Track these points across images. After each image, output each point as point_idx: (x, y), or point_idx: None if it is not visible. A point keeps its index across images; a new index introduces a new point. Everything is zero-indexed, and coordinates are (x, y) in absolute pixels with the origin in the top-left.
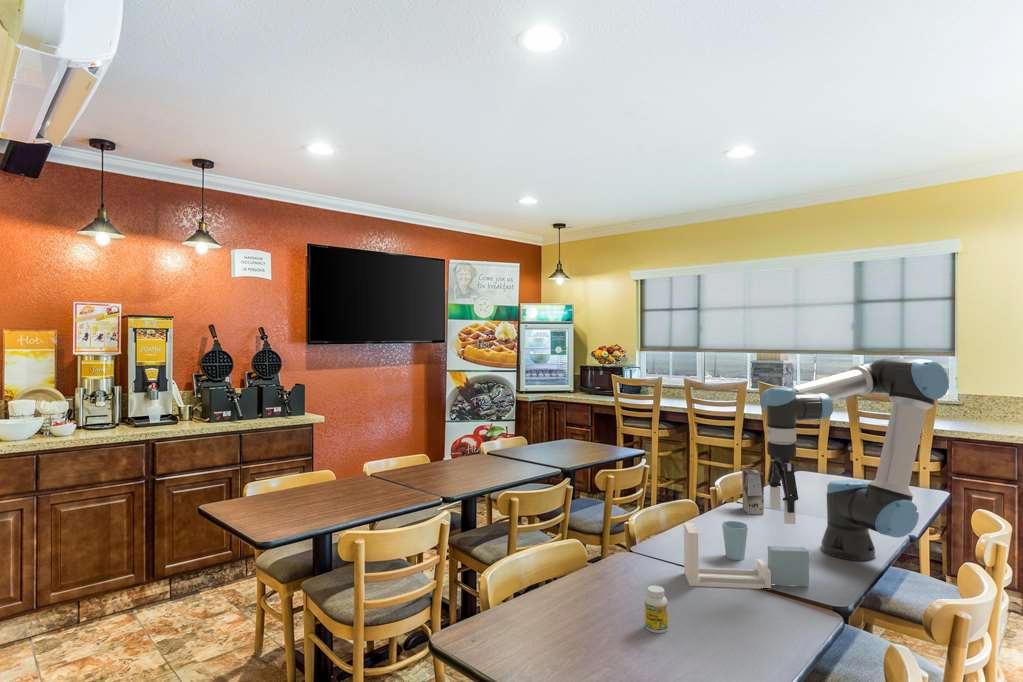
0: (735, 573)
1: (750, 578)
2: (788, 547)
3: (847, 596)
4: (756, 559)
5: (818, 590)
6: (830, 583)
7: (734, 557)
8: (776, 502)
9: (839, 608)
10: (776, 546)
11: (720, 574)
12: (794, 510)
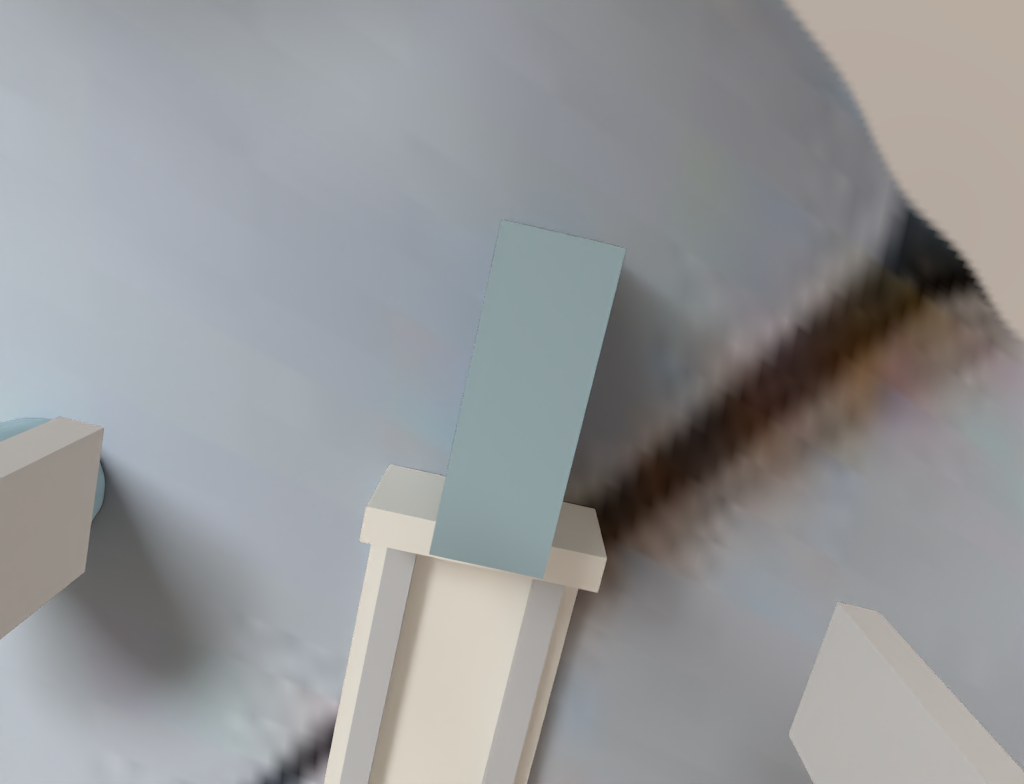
0: (397, 651)
1: (537, 633)
2: (492, 385)
3: (778, 61)
4: (361, 539)
5: (656, 208)
6: (559, 42)
7: (92, 517)
8: (16, 535)
9: (925, 238)
10: (453, 483)
11: (390, 734)
12: (1004, 773)
